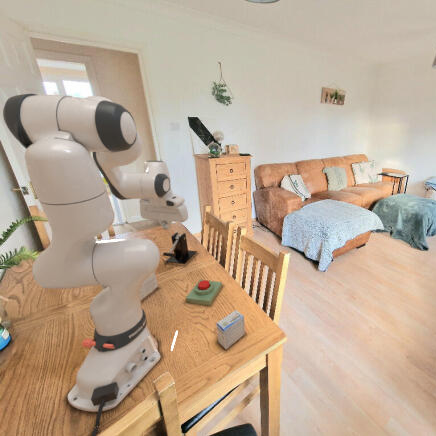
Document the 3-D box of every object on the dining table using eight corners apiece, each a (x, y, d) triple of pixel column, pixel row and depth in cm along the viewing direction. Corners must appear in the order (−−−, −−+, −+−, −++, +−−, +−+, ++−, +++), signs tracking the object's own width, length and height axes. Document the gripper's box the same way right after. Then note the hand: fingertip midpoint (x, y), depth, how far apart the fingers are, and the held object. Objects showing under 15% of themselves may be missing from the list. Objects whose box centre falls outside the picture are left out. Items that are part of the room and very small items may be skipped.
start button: (206, 291, 96) (206, 287, 95) (196, 289, 96) (196, 286, 96) (211, 284, 100) (211, 280, 99) (201, 282, 100) (201, 279, 100)
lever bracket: (184, 266, 117) (181, 241, 112) (166, 263, 118) (161, 239, 113) (197, 253, 128) (194, 230, 123) (179, 251, 129) (176, 228, 124)
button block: (209, 305, 93) (209, 297, 92) (186, 302, 95) (184, 294, 93) (222, 286, 104) (221, 278, 103) (200, 283, 106) (199, 276, 104)
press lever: (175, 258, 112) (173, 255, 110) (164, 256, 113) (162, 254, 111) (186, 237, 120) (184, 234, 118) (176, 236, 121) (174, 233, 119)
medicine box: (237, 327, 84) (235, 309, 81) (245, 335, 82) (244, 315, 78) (217, 342, 78) (215, 322, 75) (226, 350, 76) (224, 330, 73)
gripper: (133, 199, 98) (140, 229, 104) (179, 203, 96) (184, 234, 101) (144, 195, 104) (149, 224, 109) (187, 198, 102) (191, 228, 107)
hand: (166, 228), depth 105 cm, fingers closed
